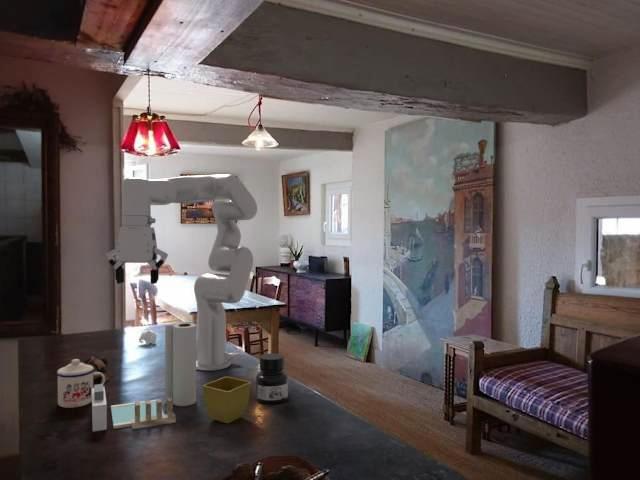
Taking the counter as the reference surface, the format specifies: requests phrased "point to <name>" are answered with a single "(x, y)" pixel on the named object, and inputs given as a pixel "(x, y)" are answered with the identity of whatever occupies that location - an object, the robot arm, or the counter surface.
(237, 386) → the flower pot
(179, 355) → the paper towel roll
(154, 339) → the elephant figurine
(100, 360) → the pottery mug
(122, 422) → the pad
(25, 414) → the counter surface
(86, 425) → the counter surface
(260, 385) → the ink bottle
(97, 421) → the block
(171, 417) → the cable comb
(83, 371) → the teacup with lid
